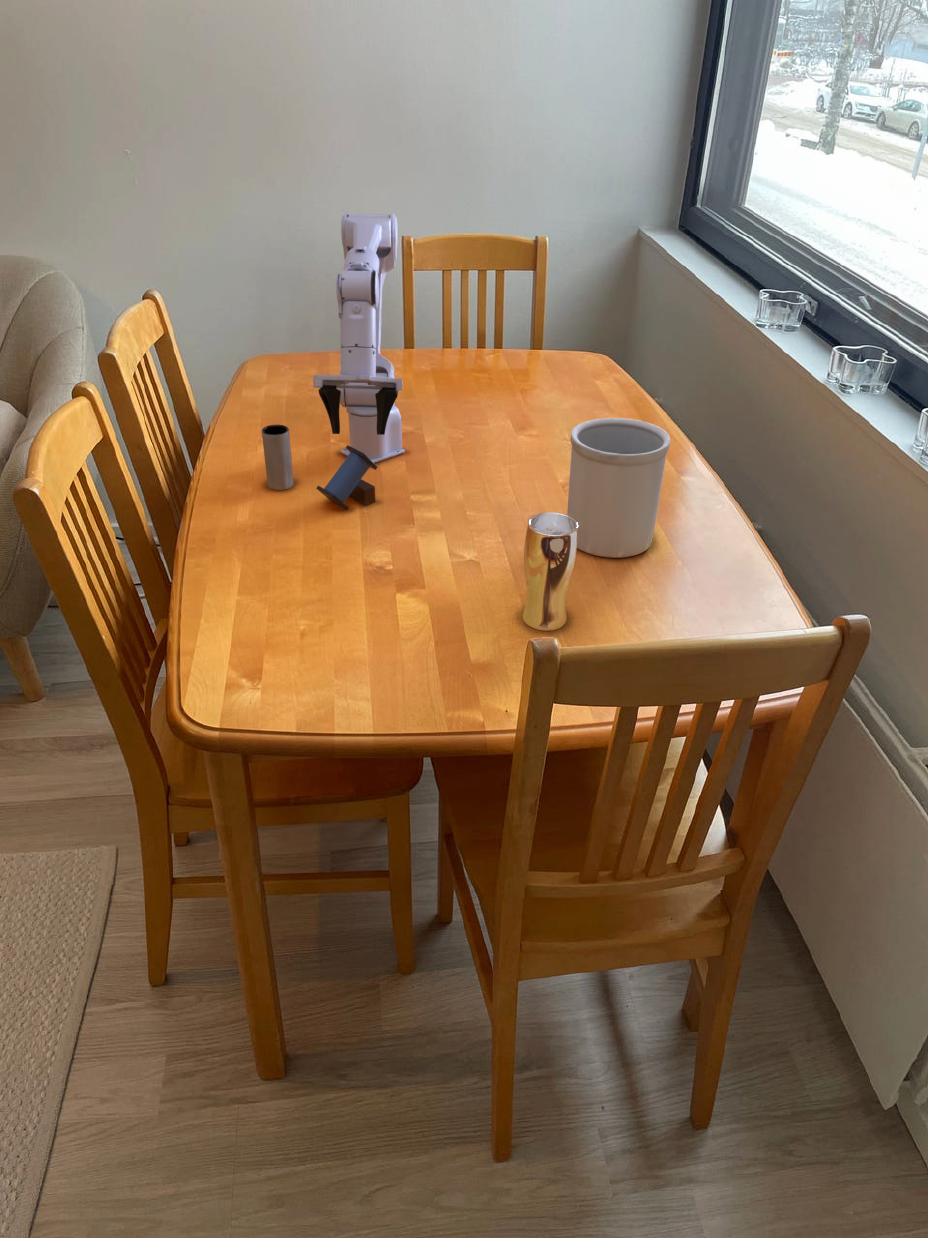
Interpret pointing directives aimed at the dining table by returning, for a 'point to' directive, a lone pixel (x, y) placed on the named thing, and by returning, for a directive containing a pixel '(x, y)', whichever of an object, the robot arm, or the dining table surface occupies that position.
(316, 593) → the dining table surface
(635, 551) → the utensil holder
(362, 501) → the block
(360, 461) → the spool
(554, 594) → the beer glass
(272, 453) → the grey hollow cylinder
